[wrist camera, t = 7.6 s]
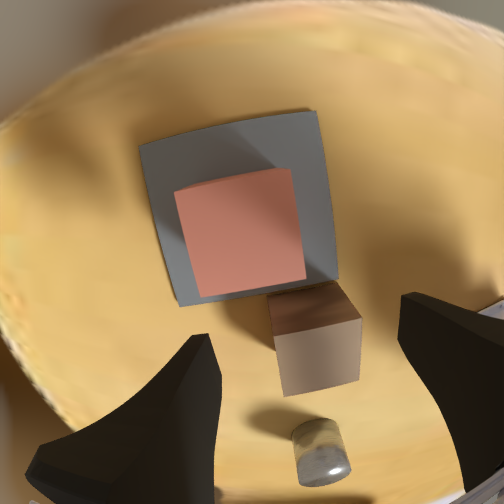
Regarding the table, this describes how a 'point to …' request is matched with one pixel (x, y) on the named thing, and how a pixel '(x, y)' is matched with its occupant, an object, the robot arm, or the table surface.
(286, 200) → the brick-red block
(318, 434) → the grey metal cylinder
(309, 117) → the slate mat
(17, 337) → the table surface
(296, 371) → the walnut block
